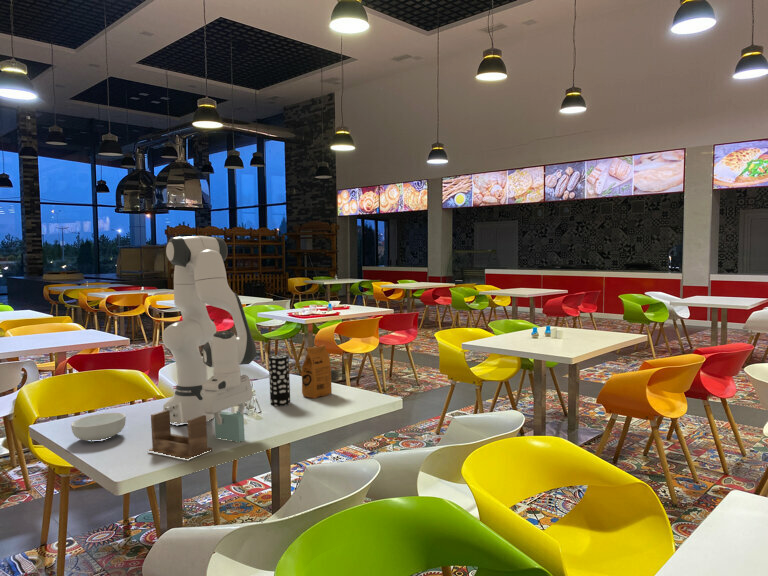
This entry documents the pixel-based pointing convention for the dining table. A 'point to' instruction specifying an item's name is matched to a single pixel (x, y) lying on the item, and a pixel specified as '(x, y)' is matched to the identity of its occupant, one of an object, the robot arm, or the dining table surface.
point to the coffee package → (316, 373)
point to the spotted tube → (279, 380)
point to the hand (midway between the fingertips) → (230, 419)
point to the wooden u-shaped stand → (178, 436)
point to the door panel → (230, 427)
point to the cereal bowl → (98, 426)
